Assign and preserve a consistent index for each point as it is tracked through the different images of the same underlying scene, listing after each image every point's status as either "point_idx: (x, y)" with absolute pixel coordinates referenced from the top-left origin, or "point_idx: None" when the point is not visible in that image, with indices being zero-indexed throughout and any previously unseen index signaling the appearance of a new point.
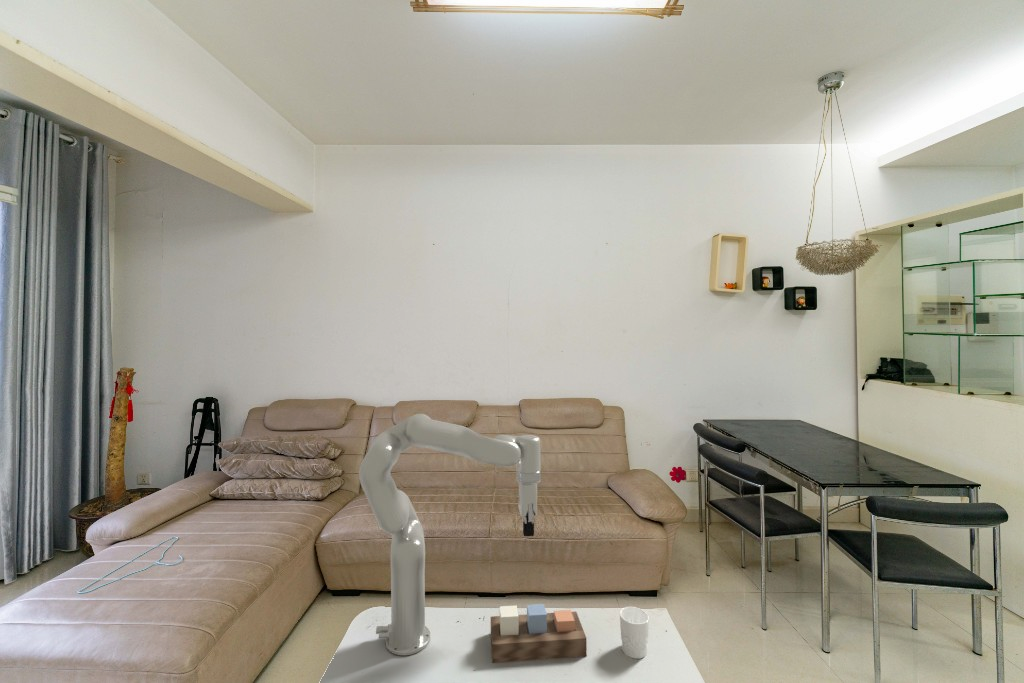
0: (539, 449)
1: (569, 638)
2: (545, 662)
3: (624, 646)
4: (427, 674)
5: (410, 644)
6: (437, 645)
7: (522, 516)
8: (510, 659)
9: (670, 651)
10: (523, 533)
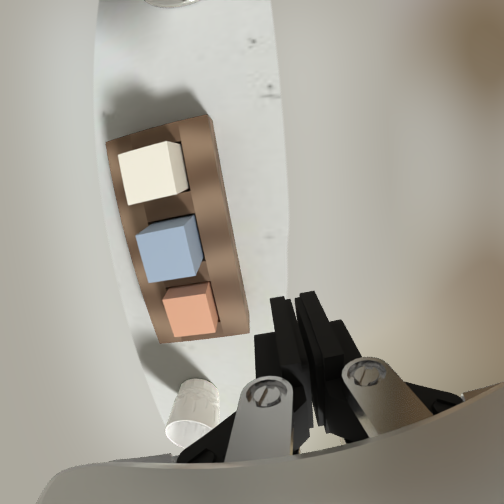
0: None
1: (151, 312)
2: None
3: (185, 387)
4: (95, 40)
5: None
6: (167, 24)
7: (60, 472)
8: None
9: None
10: (301, 295)
